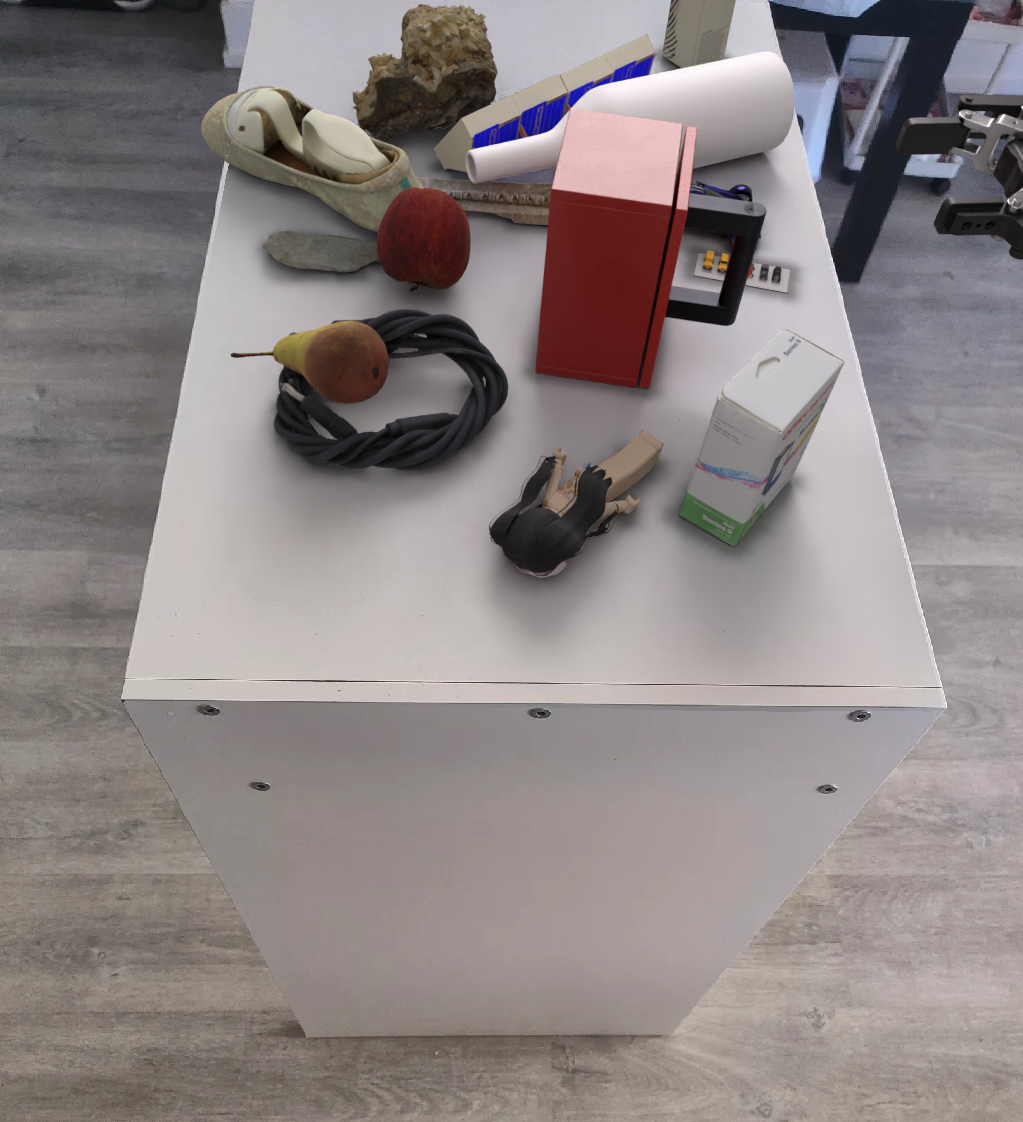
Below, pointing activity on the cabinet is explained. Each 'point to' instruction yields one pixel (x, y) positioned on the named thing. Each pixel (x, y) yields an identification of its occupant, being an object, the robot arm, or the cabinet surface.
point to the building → (542, 103)
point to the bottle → (672, 114)
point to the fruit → (335, 360)
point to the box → (697, 31)
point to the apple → (424, 239)
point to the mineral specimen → (429, 74)
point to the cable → (404, 438)
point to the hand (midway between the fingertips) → (919, 174)
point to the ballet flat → (308, 152)
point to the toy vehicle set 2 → (757, 276)
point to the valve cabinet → (605, 244)
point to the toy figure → (571, 507)
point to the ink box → (758, 434)
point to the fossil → (498, 198)
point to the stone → (321, 251)
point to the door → (688, 214)
